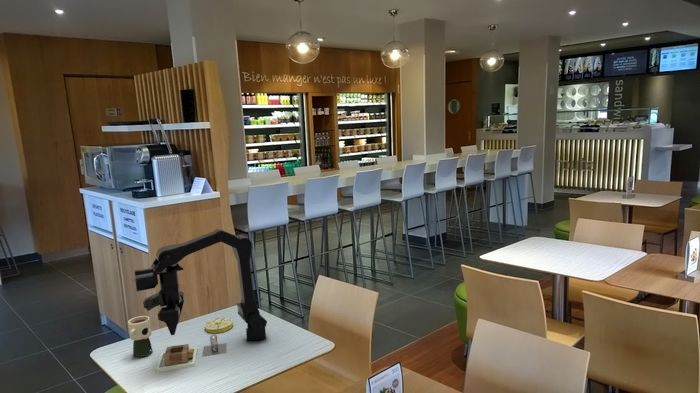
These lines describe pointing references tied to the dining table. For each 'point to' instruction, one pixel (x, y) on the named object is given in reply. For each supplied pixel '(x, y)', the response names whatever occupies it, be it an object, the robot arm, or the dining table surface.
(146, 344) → the character mug
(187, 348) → the brown piece
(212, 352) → the stake
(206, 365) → the dining table surface
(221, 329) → the decorated donut
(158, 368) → the tray
